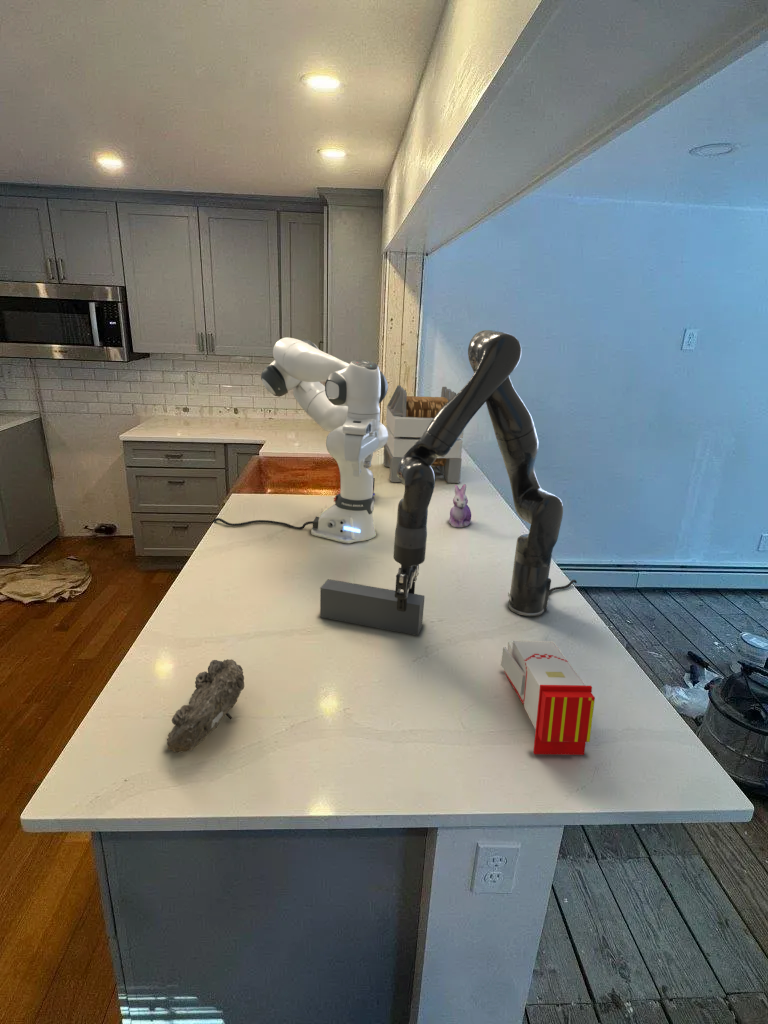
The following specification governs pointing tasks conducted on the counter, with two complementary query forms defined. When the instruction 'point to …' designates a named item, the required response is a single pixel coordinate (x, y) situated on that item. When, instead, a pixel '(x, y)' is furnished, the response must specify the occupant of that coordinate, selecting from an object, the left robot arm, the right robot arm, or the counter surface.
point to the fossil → (206, 705)
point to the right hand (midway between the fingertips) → (405, 602)
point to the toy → (550, 696)
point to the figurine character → (373, 486)
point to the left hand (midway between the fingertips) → (362, 471)
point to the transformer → (417, 431)
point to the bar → (370, 607)
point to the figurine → (460, 508)
